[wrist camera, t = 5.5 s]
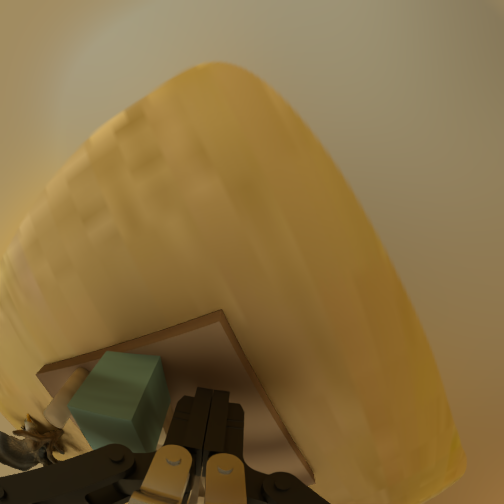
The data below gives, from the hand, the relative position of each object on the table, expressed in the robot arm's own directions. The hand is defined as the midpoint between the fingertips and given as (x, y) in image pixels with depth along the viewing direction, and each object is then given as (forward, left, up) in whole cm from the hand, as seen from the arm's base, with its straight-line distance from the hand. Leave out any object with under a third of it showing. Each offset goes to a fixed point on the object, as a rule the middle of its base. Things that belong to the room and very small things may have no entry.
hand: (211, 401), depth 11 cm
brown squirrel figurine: (-3, +21, -3) cm, 21 cm away
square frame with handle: (-3, +6, -1) cm, 7 cm away
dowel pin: (+2, +7, -1) cm, 8 cm away
